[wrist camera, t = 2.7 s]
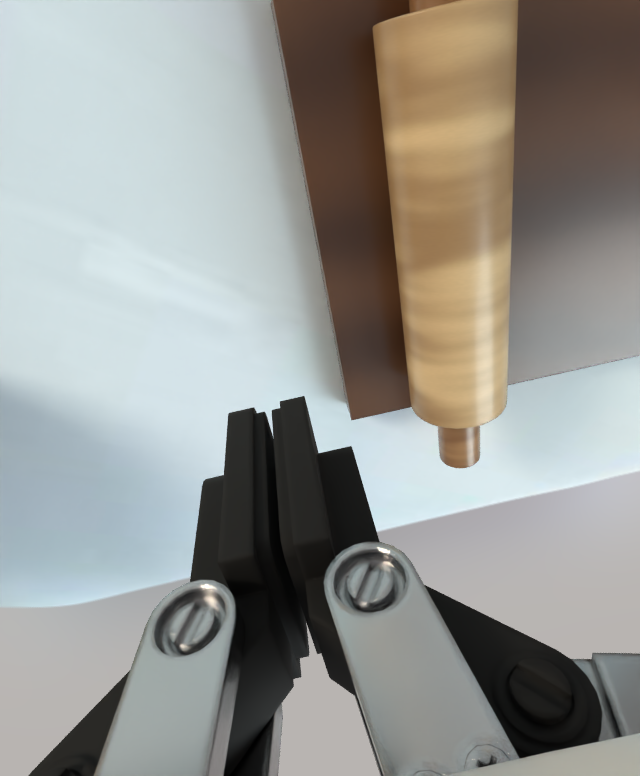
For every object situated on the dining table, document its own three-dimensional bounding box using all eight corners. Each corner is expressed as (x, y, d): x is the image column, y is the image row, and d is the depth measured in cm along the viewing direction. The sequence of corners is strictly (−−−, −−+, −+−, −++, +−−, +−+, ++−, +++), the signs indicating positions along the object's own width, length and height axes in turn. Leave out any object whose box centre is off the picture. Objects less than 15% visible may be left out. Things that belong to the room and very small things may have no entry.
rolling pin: (344, -106, 15) (375, -169, 11) (482, -136, 15) (558, -210, 11) (406, 438, 27) (431, 494, 23) (483, 421, 27) (521, 474, 23)
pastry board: (270, 2, 17) (271, -5, 16) (916, -141, 18) (967, -159, 16) (346, 405, 27) (351, 420, 26) (764, 311, 27) (789, 322, 26)
